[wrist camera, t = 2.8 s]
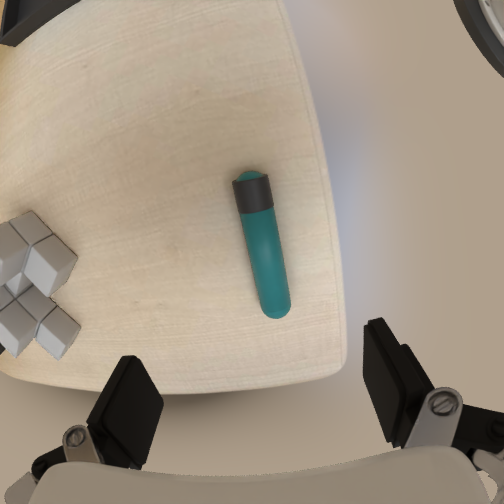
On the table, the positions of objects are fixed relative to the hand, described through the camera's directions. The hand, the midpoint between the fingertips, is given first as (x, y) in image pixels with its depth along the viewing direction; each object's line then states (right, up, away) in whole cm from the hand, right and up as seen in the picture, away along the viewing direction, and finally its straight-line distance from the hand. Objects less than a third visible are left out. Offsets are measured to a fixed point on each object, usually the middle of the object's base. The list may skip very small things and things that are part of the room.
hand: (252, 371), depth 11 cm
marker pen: (+1, +5, +13) cm, 14 cm away
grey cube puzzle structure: (-23, +1, +16) cm, 28 cm away
